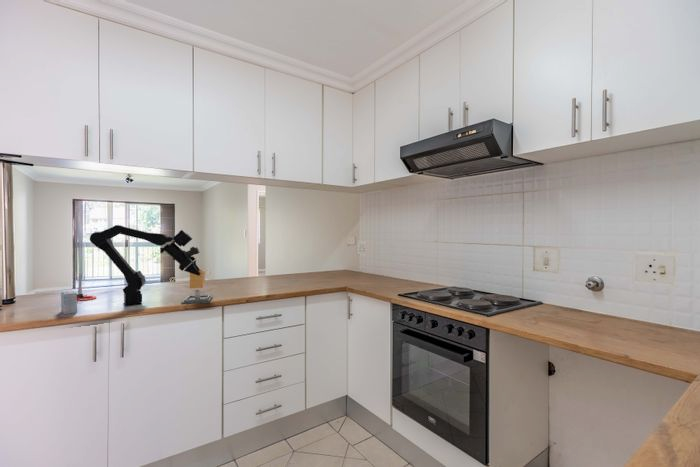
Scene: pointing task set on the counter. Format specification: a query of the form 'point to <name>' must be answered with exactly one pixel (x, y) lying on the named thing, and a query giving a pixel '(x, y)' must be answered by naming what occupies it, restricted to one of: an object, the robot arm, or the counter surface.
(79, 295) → the tow hook
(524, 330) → the counter surface
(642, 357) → the counter surface
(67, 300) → the medicine box
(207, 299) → the post plate
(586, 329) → the counter surface
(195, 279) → the orange wooden block
